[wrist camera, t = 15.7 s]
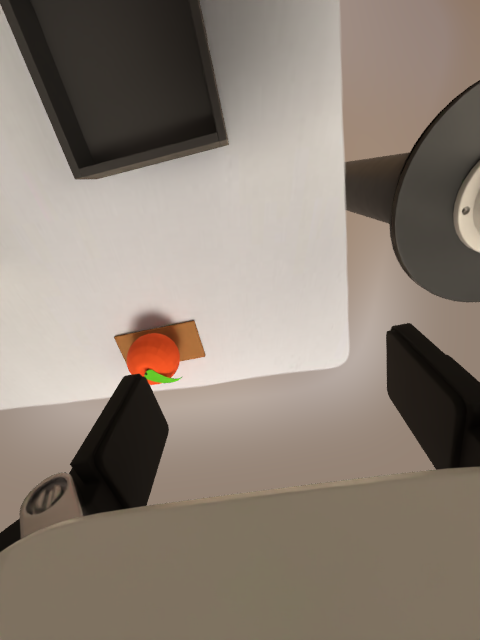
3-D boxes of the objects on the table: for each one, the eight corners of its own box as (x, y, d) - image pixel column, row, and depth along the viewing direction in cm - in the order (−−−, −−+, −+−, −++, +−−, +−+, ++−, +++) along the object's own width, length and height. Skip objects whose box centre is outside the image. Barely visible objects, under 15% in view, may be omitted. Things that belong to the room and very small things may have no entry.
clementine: (198, 340, 42) (190, 369, 36) (179, 374, 45) (168, 407, 38) (146, 316, 40) (128, 342, 34) (129, 353, 43) (110, 383, 37)
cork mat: (194, 320, 41) (193, 321, 41) (205, 355, 44) (205, 356, 43) (115, 336, 42) (113, 337, 42) (130, 369, 45) (129, 370, 44)
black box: (186, -62, 25) (175, -112, 21) (229, 144, 32) (227, 139, 27) (22, -7, 26) (-20, -42, 22) (96, 179, 33) (74, 179, 29)
